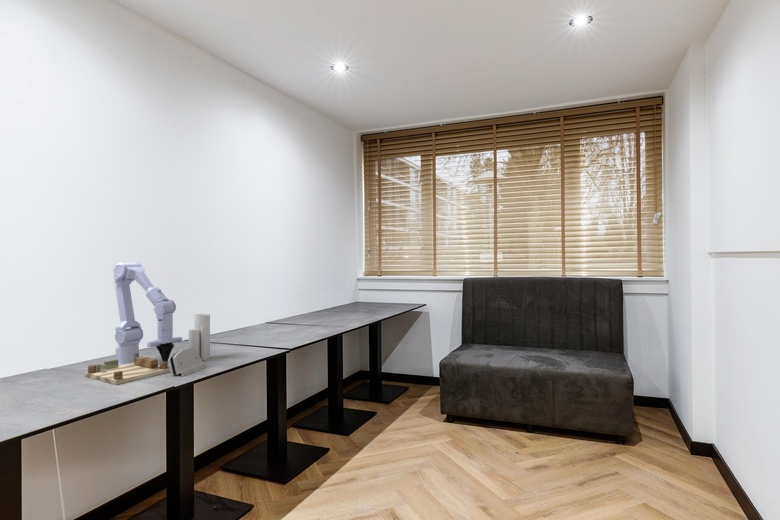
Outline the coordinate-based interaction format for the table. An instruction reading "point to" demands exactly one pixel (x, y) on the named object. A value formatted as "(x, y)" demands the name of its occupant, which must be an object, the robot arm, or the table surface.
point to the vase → (201, 335)
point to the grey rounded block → (185, 362)
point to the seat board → (123, 371)
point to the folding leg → (146, 362)
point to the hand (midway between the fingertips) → (165, 361)
